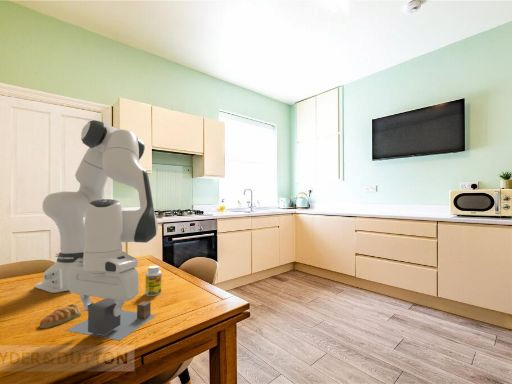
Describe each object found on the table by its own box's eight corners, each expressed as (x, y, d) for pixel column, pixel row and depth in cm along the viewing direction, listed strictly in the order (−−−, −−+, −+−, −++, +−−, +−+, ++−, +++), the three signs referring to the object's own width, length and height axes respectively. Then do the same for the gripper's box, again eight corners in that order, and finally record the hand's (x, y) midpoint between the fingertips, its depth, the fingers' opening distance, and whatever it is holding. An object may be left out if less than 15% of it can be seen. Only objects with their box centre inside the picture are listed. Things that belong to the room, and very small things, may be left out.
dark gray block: (87, 332, 64) (88, 306, 64) (105, 322, 69) (105, 298, 69) (103, 334, 63) (104, 308, 63) (120, 324, 68) (120, 300, 68)
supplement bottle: (146, 298, 89) (147, 269, 90) (144, 293, 94) (144, 266, 94) (162, 294, 93) (163, 267, 93) (159, 290, 97) (159, 264, 97)
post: (137, 318, 73) (137, 304, 73) (143, 314, 76) (143, 301, 76) (144, 319, 73) (144, 305, 73) (150, 315, 75) (150, 302, 75)
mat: (65, 331, 67) (65, 330, 67) (109, 309, 80) (109, 308, 80) (119, 342, 62) (119, 340, 62) (156, 316, 75) (156, 315, 75)
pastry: (50, 332, 67) (50, 317, 67) (32, 329, 69) (32, 315, 69) (83, 316, 76) (83, 303, 76) (66, 314, 78) (66, 301, 78)
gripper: (62, 260, 66) (61, 312, 66) (124, 266, 60) (123, 324, 60) (84, 254, 72) (83, 302, 72) (143, 260, 66) (142, 312, 66)
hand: (102, 312), depth 66 cm, fingers open, 8 cm apart
